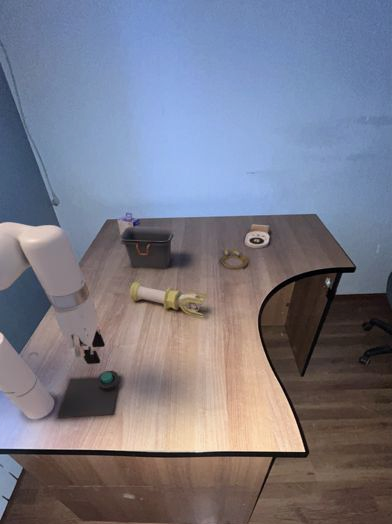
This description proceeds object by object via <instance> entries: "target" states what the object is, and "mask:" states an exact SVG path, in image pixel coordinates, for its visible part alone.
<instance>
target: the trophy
mask: <svg viewBox="0 0 392 524" xmlns="http://www.w3.org/2000/svg"><path fill="white" fill-rule="evenodd" d="M129 297H130V299H131V301H133V302H138V301H141V300H146V301H149V302H154V303H159V304H162V305H163V308H164V309H165V310H169V309H170V308H171V309H173V310H175V311H178V310H179V308H180V309H181V310H182V311H183V312H184V313H186V314H188V315H191V316H196V317H201V318H204V313H202V312H198V311H203V312H209V311H208V310H207V308H206V307H204V306H202V305H203V303H204V302H205V301H206V299H207V297H209V294H208V293H203V292H198V291H193V290H191V291H187V292H185V293H184V294H183V293H182V291H181V290H174V288H173V287H170V286H169V287H168V288H167V289H166V290H161V289H155V288H150V287H146V286H144V284H143V283H141V282H140V281H137V280H136V281H134V282H133V283H132V284H131V286H130V289H129Z"/></svg>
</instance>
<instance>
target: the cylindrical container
mask: <svg viewBox="0 0 392 524" xmlns="http://www.w3.org/2000/svg"><path fill="white" fill-rule="evenodd" d="M0 391H1V392H2V393H3V394H4V395H5V396H6V398H8V399H9V400H10V401H11V402H12V403H13V404H14V405H15V406H16V407H17V408H18V409H19V410H20V411H21V412H22V413H23V414H24V415H25V416H26V417H27V418H29V419H30V420H40V419H42V418H45V417H46V416H48V415H49V414H50V413H51V412H52V410H53V409H54V407H55V399H54V398H53V397H52V396H51V394H50V393H49V392H48V390H47V389H46V387H45V386H44V385H43V384H42V382H41V381H40V380H39V379H38V378H37V376H36V375H35V373H34V372H33V371H32V369H30V367H29V365H27V363H26V362H25V361H24V360H23V358H22V357H21V355H19V353H18V352H17V351H16V349H15V348H14V347H13V345H12V344H11V343H10V342H9V341H8V339H7V338H6V337H5V335H4V334H3V332H0Z"/></svg>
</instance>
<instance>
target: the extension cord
mask: <svg viewBox="0 0 392 524" xmlns="http://www.w3.org/2000/svg"><path fill="white" fill-rule="evenodd" d="M231 254H233V255H229V250H228V249H227V248H226V249H224V255H225V257H223V258H222V259H221V262H222V265H224V266H225V267H226V268H228V269H233V270H240V269H243V268H245V267H247V265H248V260H247V259H246V258H245V257H244V256H243V255H241V252H239V251H237V249H233V250H232V252H231ZM231 257H233V258H237V257H238V259H240V260H242V261H244V263H245V264H243V265H241V266H238V267H232V266H229V265H227V264H225V262H224V260H226V259H228V258H231Z"/></svg>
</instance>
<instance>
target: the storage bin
mask: <svg viewBox="0 0 392 524" xmlns="http://www.w3.org/2000/svg"><path fill="white" fill-rule="evenodd" d="M173 238H174V229H173V228H170V227H156V226H155V227H153V226H140V227H128V228H126V229H125V230H124V232H123V233H122V234H120V236H119V239H120V240H121V241H120V242H121V244H123V245H124V246H125V249H126V253H127V255H128V259H129V262H130V265H131V267H132V268H139V269H140V268H143V269H162V270H164V269H165V270H166V269H168V268H169V265H170V263H171V261H172V240H173Z"/></svg>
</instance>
